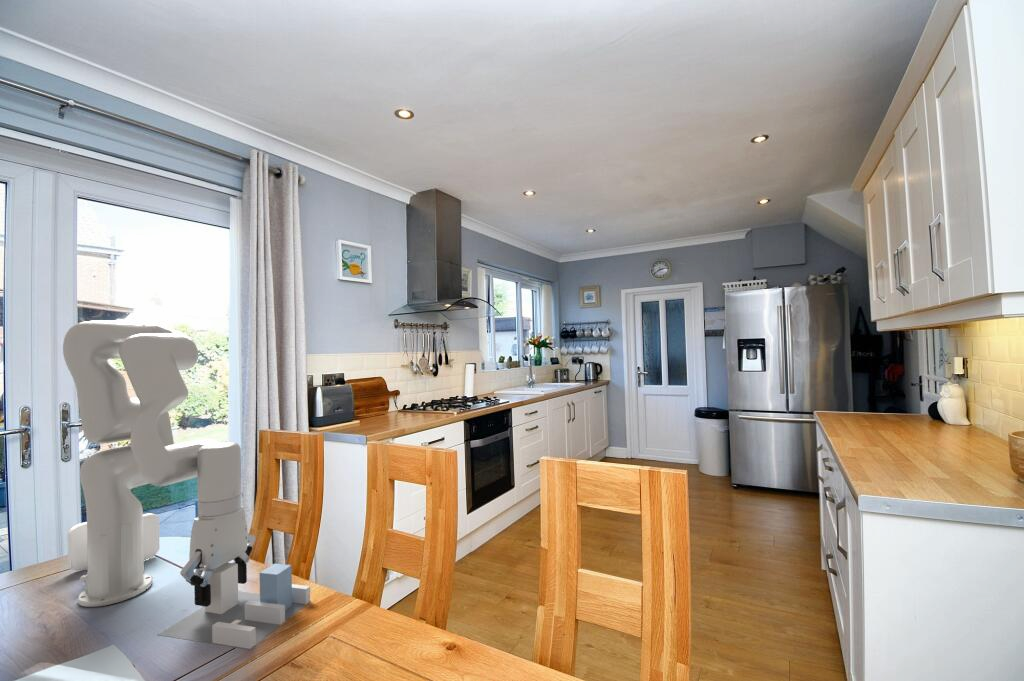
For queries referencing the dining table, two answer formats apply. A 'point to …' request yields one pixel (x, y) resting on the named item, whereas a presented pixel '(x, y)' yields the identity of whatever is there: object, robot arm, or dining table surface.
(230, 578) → the off-white plug
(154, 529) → the cable organizer
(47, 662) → the dining table surface
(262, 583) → the blue plug
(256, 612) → the comb board
